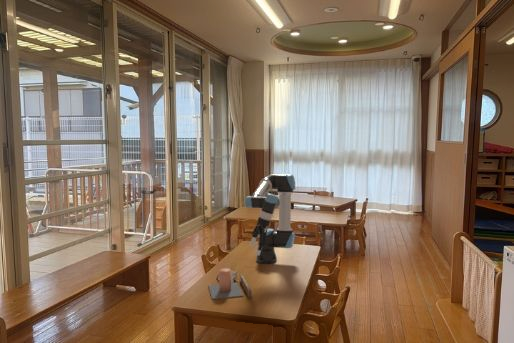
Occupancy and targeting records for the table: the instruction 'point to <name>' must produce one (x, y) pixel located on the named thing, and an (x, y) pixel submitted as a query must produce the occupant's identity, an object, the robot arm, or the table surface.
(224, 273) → the pink rounded cylinder
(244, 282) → the wooden plank
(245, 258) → the table surface
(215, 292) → the mat
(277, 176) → the robot arm
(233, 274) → the turtle
